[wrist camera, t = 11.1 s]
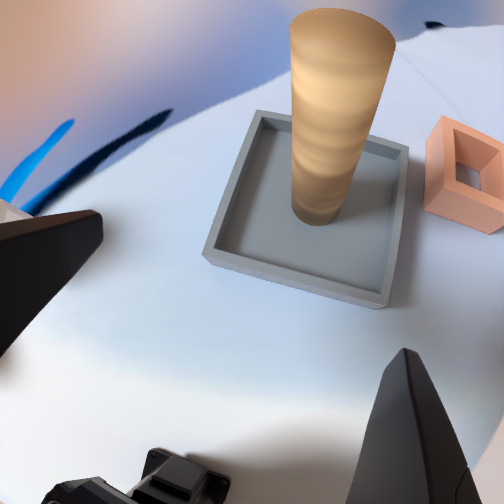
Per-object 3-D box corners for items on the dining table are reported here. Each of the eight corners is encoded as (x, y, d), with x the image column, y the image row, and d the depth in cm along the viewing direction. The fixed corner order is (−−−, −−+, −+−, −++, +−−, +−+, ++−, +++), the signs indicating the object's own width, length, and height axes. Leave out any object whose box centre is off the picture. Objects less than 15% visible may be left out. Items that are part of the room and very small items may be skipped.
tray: (375, 309, 20) (387, 306, 17) (211, 264, 22) (201, 254, 19) (398, 164, 22) (408, 146, 20) (259, 130, 25) (256, 109, 22)
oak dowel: (344, 224, 20) (411, 66, 7) (293, 227, 21) (298, 62, 7) (336, 179, 21) (376, 11, 8) (288, 182, 22) (284, 8, 8)
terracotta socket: (489, 234, 20) (515, 218, 16) (422, 210, 21) (444, 187, 17) (486, 167, 22) (507, 145, 18) (425, 141, 23) (441, 115, 19)
